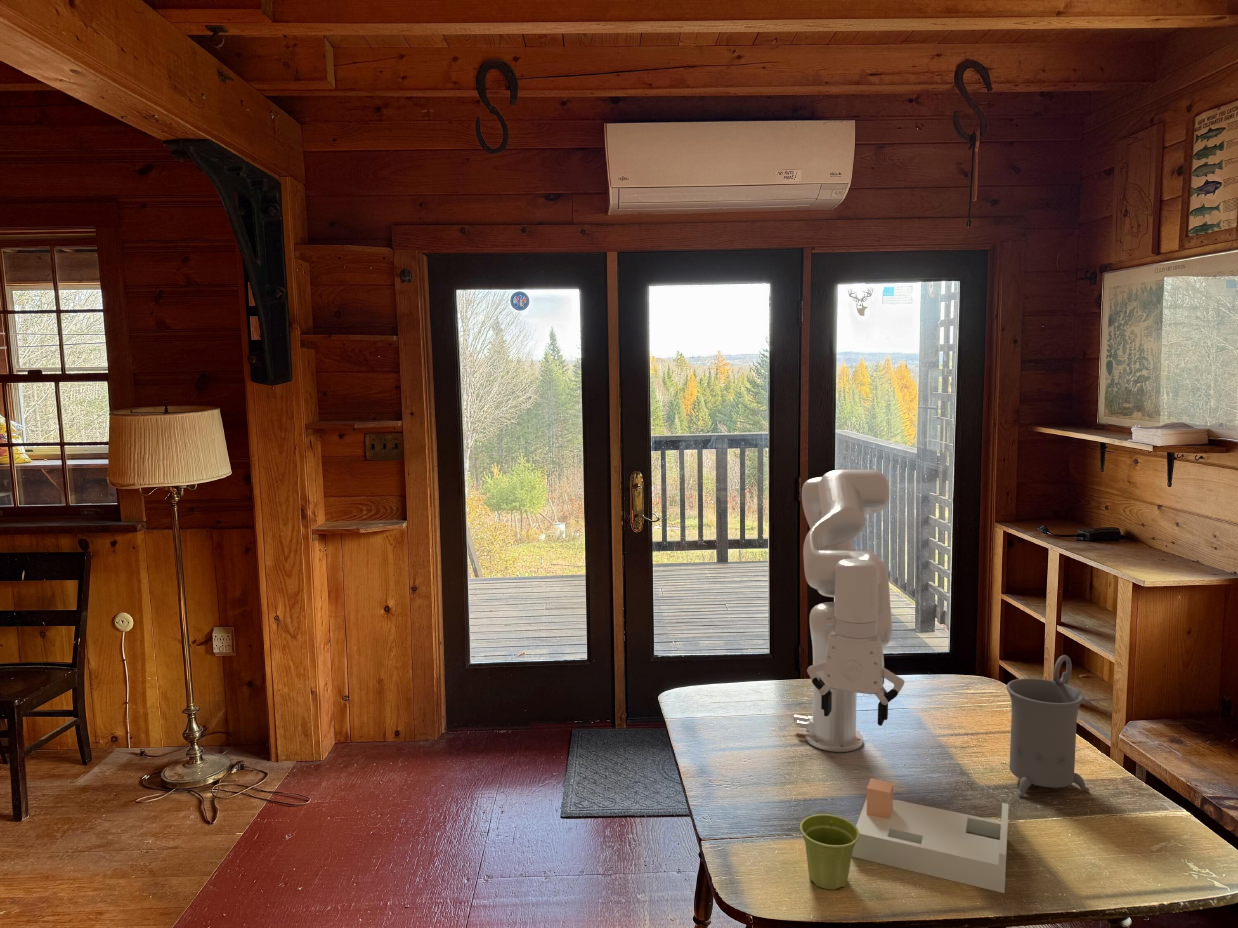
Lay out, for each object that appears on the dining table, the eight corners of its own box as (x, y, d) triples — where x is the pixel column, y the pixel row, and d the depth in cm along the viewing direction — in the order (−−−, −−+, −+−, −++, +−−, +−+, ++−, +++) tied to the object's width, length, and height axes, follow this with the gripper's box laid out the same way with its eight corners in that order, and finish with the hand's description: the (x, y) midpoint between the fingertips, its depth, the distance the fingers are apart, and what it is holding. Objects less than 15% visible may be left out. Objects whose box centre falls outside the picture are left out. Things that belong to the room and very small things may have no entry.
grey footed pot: (1057, 813, 155) (1064, 684, 152) (982, 782, 167) (987, 662, 164) (1103, 782, 166) (1110, 662, 164) (1030, 755, 178) (1035, 643, 175)
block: (866, 814, 150) (867, 787, 150) (870, 803, 154) (870, 778, 153) (889, 819, 148) (890, 792, 148) (892, 808, 152) (893, 782, 151)
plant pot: (859, 867, 139) (860, 818, 138) (856, 901, 130) (857, 849, 129) (802, 857, 142) (803, 809, 141) (796, 890, 133) (796, 839, 132)
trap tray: (850, 856, 142) (851, 820, 142) (867, 808, 158) (868, 776, 157) (1004, 893, 132) (1006, 854, 131) (1007, 838, 147) (1008, 803, 146)
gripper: (803, 627, 152) (802, 717, 153) (902, 639, 144) (900, 734, 145) (813, 616, 158) (812, 703, 160) (908, 627, 150) (906, 718, 152)
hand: (854, 718), depth 153 cm, fingers open, 9 cm apart
